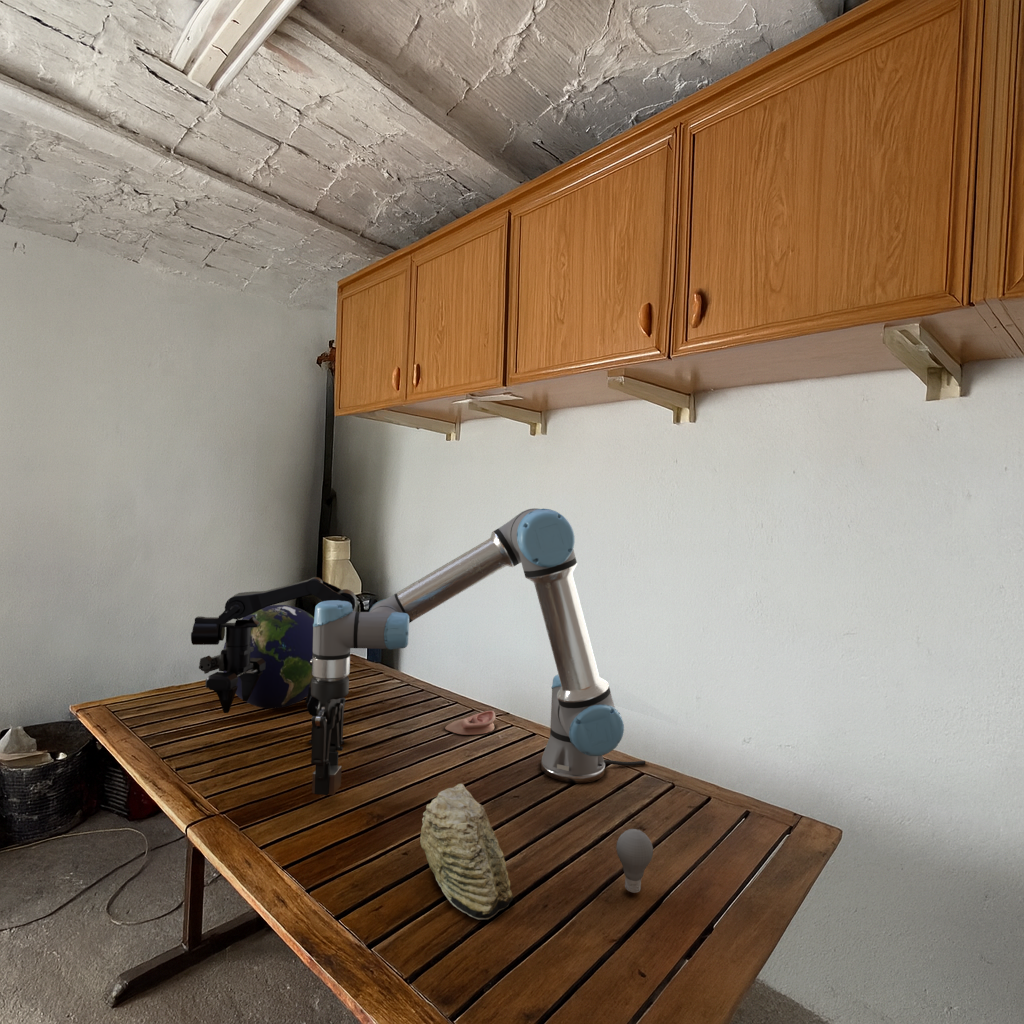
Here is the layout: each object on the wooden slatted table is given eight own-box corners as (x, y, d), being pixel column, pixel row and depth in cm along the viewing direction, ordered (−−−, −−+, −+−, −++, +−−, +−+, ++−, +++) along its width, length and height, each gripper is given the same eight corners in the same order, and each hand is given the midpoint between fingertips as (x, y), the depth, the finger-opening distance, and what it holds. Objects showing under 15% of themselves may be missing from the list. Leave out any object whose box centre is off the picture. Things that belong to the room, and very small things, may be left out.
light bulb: (610, 879, 108) (613, 822, 108) (644, 879, 109) (647, 822, 109) (619, 902, 102) (622, 840, 102) (655, 901, 103) (658, 840, 103)
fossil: (447, 853, 114) (450, 771, 114) (521, 902, 101) (525, 809, 101) (406, 873, 108) (410, 785, 107) (480, 928, 95) (484, 828, 94)
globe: (289, 685, 209) (292, 594, 208) (348, 705, 191) (352, 606, 191) (199, 706, 185) (203, 604, 184) (258, 732, 167) (262, 619, 167)
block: (319, 784, 134) (320, 764, 134) (341, 785, 133) (341, 765, 133) (311, 793, 129) (312, 773, 129) (333, 795, 129) (334, 774, 129)
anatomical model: (442, 717, 173) (454, 704, 184) (441, 732, 173) (453, 718, 184) (489, 723, 170) (498, 710, 181) (488, 738, 170) (498, 723, 181)
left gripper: (226, 634, 167) (224, 693, 168) (184, 651, 149) (182, 717, 149) (267, 637, 166) (265, 696, 167) (230, 654, 148) (228, 720, 148)
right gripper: (327, 664, 140) (323, 769, 140) (295, 687, 122) (291, 807, 123) (361, 666, 139) (356, 771, 140) (333, 689, 122) (329, 809, 122)
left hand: (235, 706), depth 158 cm, fingers open, 9 cm apart
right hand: (326, 787), depth 131 cm, fingers closed on block, 4 cm apart
